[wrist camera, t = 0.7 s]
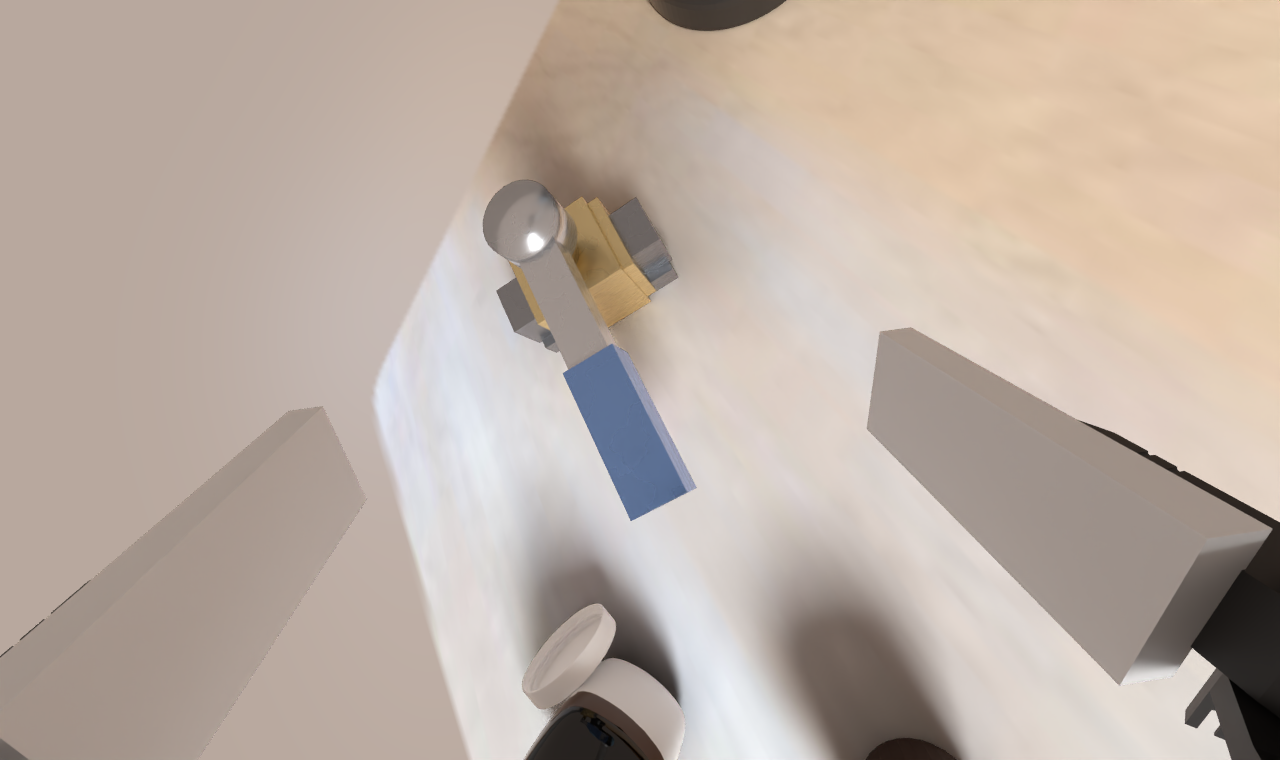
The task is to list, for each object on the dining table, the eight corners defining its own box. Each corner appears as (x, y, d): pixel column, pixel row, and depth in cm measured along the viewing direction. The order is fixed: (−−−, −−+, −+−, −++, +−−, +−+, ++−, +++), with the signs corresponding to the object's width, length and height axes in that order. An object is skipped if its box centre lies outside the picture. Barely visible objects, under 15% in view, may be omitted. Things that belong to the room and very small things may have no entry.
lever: (559, 192, 28) (534, 164, 26) (709, 481, 23) (699, 486, 21) (502, 232, 29) (472, 209, 26) (635, 518, 24) (616, 528, 21)
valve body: (649, 219, 37) (606, 147, 28) (684, 280, 35) (651, 224, 26) (528, 299, 39) (452, 256, 30) (556, 359, 38) (484, 332, 29)
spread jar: (640, 829, 31) (560, 1039, 20) (512, 715, 35) (386, 841, 24) (722, 671, 31) (687, 795, 20) (586, 574, 35) (493, 633, 24)
